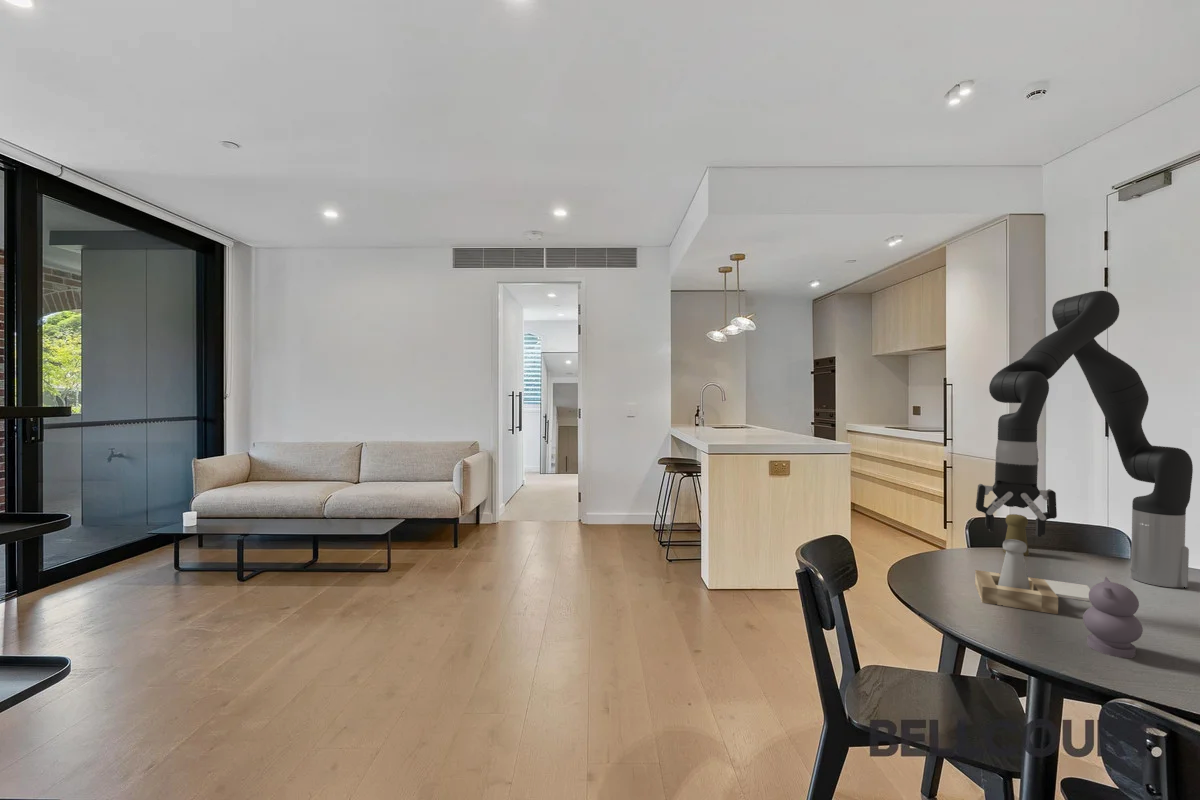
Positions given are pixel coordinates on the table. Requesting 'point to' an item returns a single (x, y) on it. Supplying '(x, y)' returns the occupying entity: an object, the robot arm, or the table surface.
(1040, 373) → the robot arm
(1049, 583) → the grey tile
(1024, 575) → the salt shaker
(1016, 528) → the cork
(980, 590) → the socket block
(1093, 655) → the table surface
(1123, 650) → the stacked rounded figure
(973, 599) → the table surface
